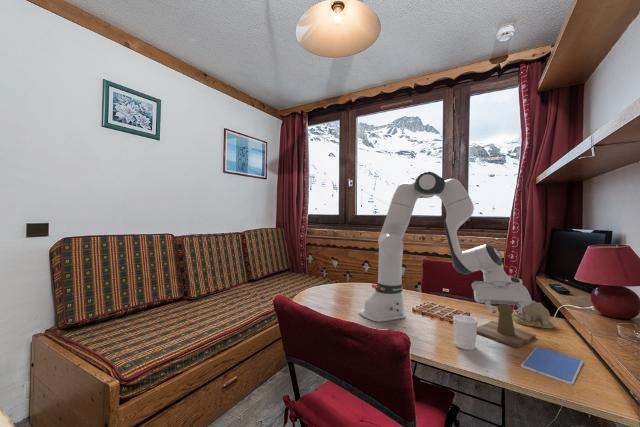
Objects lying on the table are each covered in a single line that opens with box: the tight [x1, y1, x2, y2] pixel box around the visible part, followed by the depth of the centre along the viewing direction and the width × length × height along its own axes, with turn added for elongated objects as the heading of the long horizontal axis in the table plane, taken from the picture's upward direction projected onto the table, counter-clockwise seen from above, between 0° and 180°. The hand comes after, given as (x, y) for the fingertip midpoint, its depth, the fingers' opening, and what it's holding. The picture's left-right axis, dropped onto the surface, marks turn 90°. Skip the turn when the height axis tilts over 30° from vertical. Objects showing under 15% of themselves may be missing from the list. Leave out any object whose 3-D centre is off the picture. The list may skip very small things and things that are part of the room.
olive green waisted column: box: [497, 304, 515, 336], centre depth 111 cm, size 6×6×11 cm
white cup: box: [452, 314, 479, 351], centre depth 102 cm, size 8×8×10 cm
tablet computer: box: [520, 346, 584, 386], centre depth 90 cm, size 19×13×1 cm, turn 130°
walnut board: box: [477, 320, 537, 349], centre depth 111 cm, size 16×16×1 cm
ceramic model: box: [512, 300, 555, 329], centre depth 123 cm, size 14×11×10 cm
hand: (506, 313), depth 110 cm, fingers open, 8 cm apart
